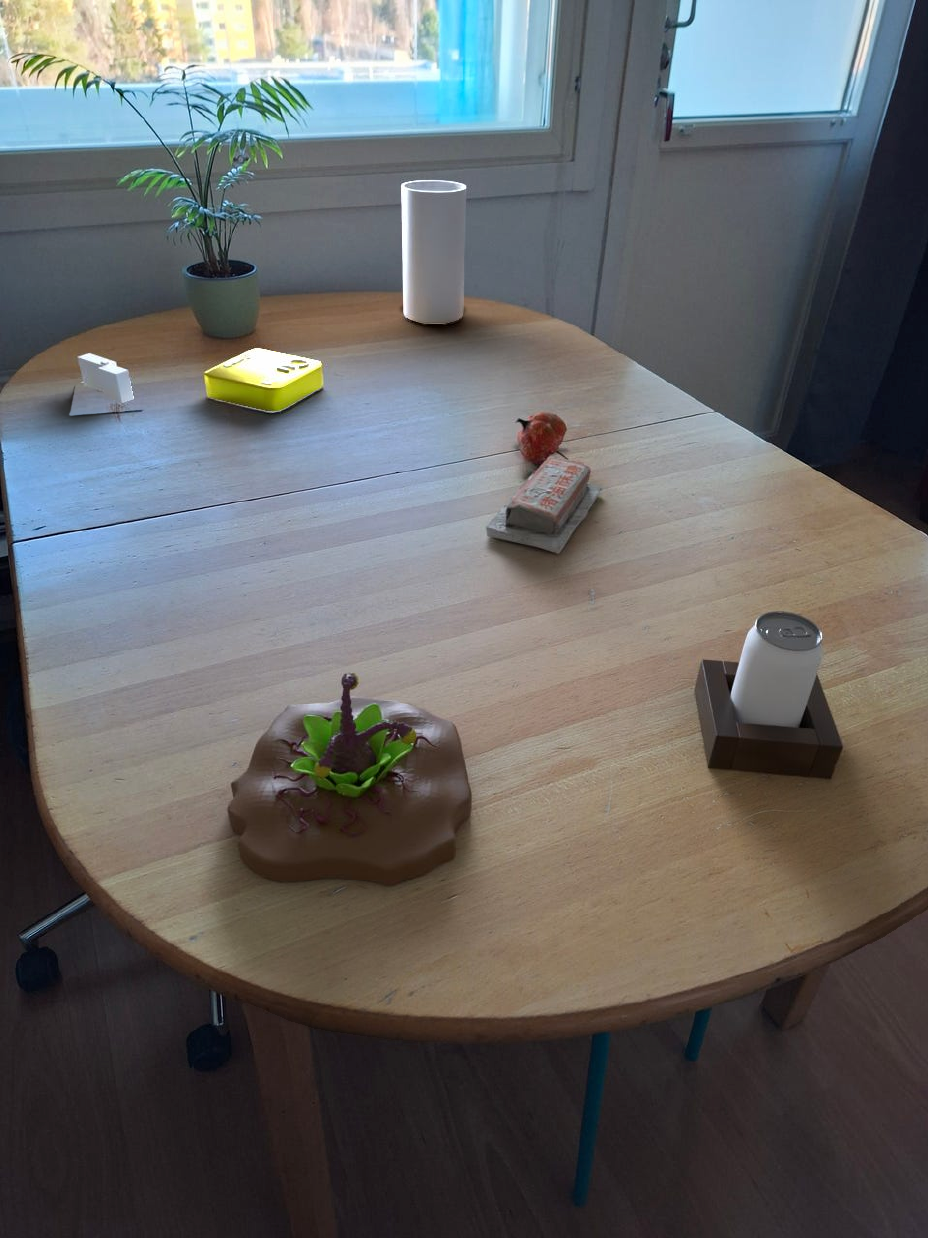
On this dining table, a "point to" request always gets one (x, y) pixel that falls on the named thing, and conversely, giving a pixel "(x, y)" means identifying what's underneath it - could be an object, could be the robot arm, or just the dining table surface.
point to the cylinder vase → (433, 250)
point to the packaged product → (547, 506)
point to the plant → (351, 792)
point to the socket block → (763, 731)
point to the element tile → (264, 379)
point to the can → (777, 670)
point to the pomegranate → (540, 436)
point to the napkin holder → (106, 377)
